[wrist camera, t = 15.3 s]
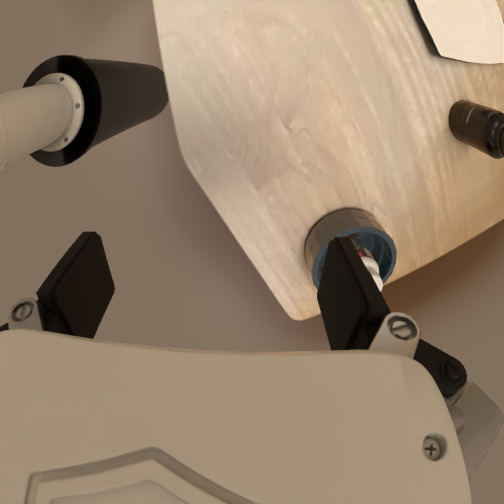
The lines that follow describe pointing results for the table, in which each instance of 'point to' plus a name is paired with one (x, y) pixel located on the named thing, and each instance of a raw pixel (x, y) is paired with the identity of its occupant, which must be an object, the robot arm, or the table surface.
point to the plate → (464, 29)
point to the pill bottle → (366, 258)
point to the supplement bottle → (479, 127)
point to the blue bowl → (346, 225)
